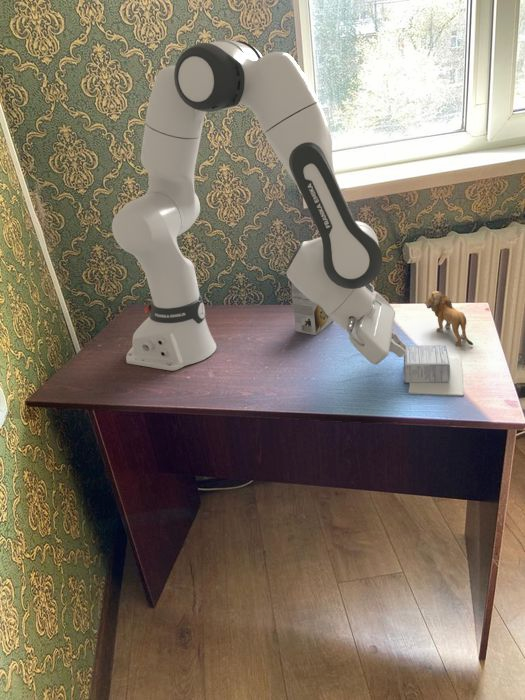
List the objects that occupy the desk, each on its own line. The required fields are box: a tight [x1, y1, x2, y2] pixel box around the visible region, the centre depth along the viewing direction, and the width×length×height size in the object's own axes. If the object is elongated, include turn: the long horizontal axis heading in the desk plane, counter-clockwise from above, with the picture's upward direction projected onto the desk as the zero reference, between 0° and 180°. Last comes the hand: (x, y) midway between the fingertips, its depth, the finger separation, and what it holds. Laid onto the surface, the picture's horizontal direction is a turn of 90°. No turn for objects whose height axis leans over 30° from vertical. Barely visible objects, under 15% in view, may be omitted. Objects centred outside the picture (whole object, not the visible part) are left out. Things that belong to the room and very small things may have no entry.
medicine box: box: [403, 344, 450, 384], centre depth 109 cm, size 8×4×9 cm
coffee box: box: [289, 280, 335, 336], centre depth 133 cm, size 9×6×16 cm
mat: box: [408, 357, 464, 397], centre depth 109 cm, size 10×14×1 cm
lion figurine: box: [424, 290, 474, 347], centre depth 122 cm, size 15×5×9 cm, turn 23°
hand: (403, 351), depth 109 cm, fingers closed
